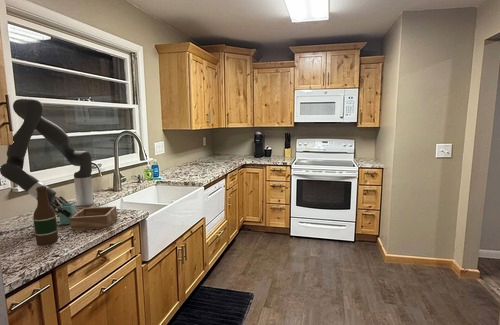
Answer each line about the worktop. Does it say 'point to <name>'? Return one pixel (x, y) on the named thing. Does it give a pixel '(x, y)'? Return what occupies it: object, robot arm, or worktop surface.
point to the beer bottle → (44, 219)
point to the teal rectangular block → (70, 209)
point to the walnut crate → (93, 218)
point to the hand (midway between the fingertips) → (71, 213)
